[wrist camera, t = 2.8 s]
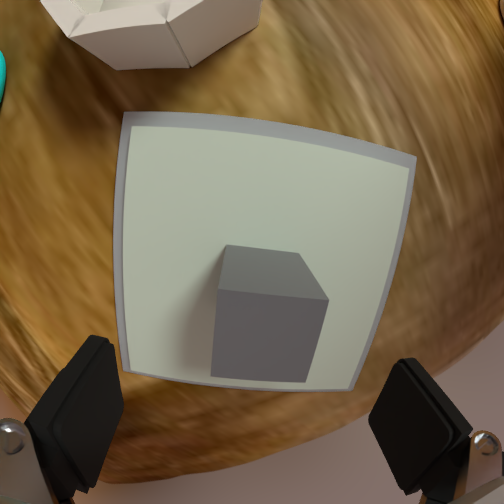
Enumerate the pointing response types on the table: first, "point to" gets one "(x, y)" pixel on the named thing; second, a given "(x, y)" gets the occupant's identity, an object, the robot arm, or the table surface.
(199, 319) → the lid
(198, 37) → the bowl
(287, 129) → the mat
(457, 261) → the table surface
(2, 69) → the donuts
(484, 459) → the robot arm
